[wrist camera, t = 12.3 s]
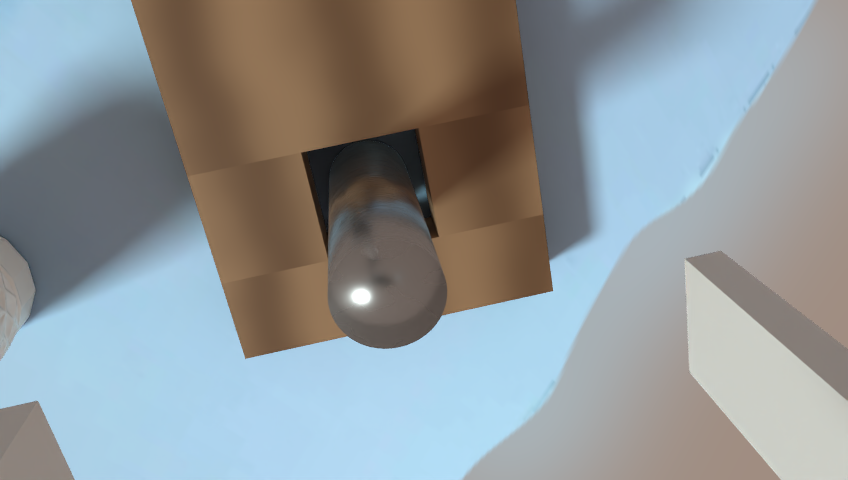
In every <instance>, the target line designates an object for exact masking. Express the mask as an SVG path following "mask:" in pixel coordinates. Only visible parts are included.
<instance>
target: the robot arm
mask: <svg viewBox="0 0 848 480" xmlns="http://www.w3.org/2000/svg"><path fill="white" fill-rule="evenodd" d="M685 278H686V279H685V280H686V304H687V328H688V352H689V372H690V373H691V374H692V376H693V377H694V378H695V379H696V380H697V382H699V384H700V385H701V386H702V387H703V389H704V390H705V391H706V392H707V393H708V394H709V395H710V397H711V398H712V399H713V400H714V401H715V403H716V404H717V405H718V406H719V407H720V409H721V410H722V411H723V412H724V413H725V414H726V416H727V417H728V418H729V419H730V420H731V421H732V423H733V424H734V425H735V426H736V427H737V428H738V430H739V431H740V432H741V433H742V434H743V436H744V437H745V438H746V439H747V440H748V441H749V443H750V444H751V445H752V446H753V447H754V448H755V450H756V451H757V452H758V453H759V454H760V455H761V457H762V458H763V459H764V460H765V461H766V462H767V464H768V465H769V466H770V467H771V468H772V470H773V471H774V472H775V473H776V474H777V475H778V477H779V478H780V479H781V480H848V349H847V348H846V347H844V346H843V345H842V344H841V343H839V342H838V341H837V340H835V339H834V338H833V337H832V336H830V335H829V334H828V333H826V332H825V331H824V330H823V329H821V328H820V327H819V326H817V325H816V324H815V323H814V322H812V321H811V320H809V319H808V318H807V317H806V316H804V315H803V314H802V313H801V312H799V311H798V310H797V309H795V308H794V307H793V306H791V305H790V304H789V303H788V302H786V301H785V300H784V299H782V298H781V297H780V296H779V295H777V294H776V293H775V292H773V291H772V290H771V289H769V288H768V287H767V286H765V285H764V284H763V283H762V282H760V281H759V280H758V279H757V278H755V277H754V276H753V275H751V274H750V273H749V272H748V271H746V270H745V269H744V268H742V267H741V266H740V265H738V264H737V263H736V262H735V261H733V260H732V259H731V258H729V257H728V256H727V255H725V254H724V253H723V252H722V251H718V252H713V253H709V254H704V255H700V256H695V257H691V258H686V259H685ZM0 480H74V477H73V475H72V473H71V471H70V469H69V467H68V464H67V462H66V460H65V458H64V456H63V454H62V452H61V449H60V447H59V445H58V443H57V441H56V439H55V437H54V434H53V432H52V430H51V428H50V426H49V424H48V421H47V419H46V417H45V415H44V413H43V411H42V409H41V406H40V404H39V402H38V401H34V402H30V403H25V404H21V405H16V406H12V407H7V408H2V409H0Z"/></svg>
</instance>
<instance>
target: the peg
mask: <svg viewBox="0 0 848 480" xmlns="http://www.w3.org/2000/svg"><path fill="white" fill-rule="evenodd" d="M446 301H447V283H446V279H445V276H444V273H443V270H442V267H441V264H440V261H439V259H438V256H437V253H436V250H435V247H434V245H433V242H432V239H431V236H430V233H429V230H428V228H427V225H426V222H425V219H424V216H423V214H422V211H421V208H420V205H419V202H418V199H417V197H416V194H415V191H414V188H413V185H412V183H411V180H410V177H409V174H408V171H407V168H406V166H405V163H404V161H403V159H402V158H401V156H400V155H399V154H398V153H397V152H396V151H395V150H394V149H393V148H392V147H390V146H388V145H387V144H384V143H382V142H378V141H373V140H364V141H359V142H355V143H353V144H350V145H349V146H347V147H345V148H344V149H343V150H342V151H341V152H340V153H339V154H338V155H337V156H336V158H335V159H334V161H333V163H332V166H331V169H330V174H329V229H328V305H329V310H330V313H331V315H332V317H333V319H334V321H335V323H336V324H337V326H338V327H339V328H340V329H341V330H342V332H343V333H345V334H346V335H347V336H348V337H349V338H351V339H353V340H354V341H356V342H358V343H360V344H363V345H366V346H369V347H374V348H383V349H387V348H397V347H401V346H405V345H408V344H410V343H413V342H415V341H417V340H419V339H420V338H422V337H423V336H425V335H426V334H427V333H428V332H429V331H430V330H431V329H432V328H433V327H434V326H435V325H436V324H437V322H438V321H439V319H440V318H441V316H442V314H443V311H444V309H445V305H446Z"/></svg>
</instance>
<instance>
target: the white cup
mask: <svg viewBox="0 0 848 480" xmlns="http://www.w3.org/2000/svg"><path fill="white" fill-rule="evenodd" d="M35 291H36V289H35V286H34V282H33V279H32V276H31V272H30V269H29V266H28V263H27V262H26V260H25V259H24V258H23V257H22V256H21V255H20V254H19V253H18V252H17V250H16V249H15V248H14V247H13V246H12V245H11V244H10V243H9V242H8V240H6V239H5V238H3V237H1V236H0V361H1V359H2V358H3V356H4V355H5V353H6V352H7V350H8V348H9V347H10V345H11V343H12V341H13V339H14V337H15V335H16V334H17V332H18V331H19V330H20V328H21V327H22V326H23V324H24V323H25V322H26V320H27V319H28V318H29V316H30V312H31V308H32V304H33V300H34V296H35Z"/></svg>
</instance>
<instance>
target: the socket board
mask: <svg viewBox="0 0 848 480" xmlns="http://www.w3.org/2000/svg"><path fill="white" fill-rule="evenodd" d="M131 2H132V5H133V8H134V11H135V14H136V17H137V20H138V24H139V27H140V30H141V33H142V36H143V39H144V42H145V45H146V49H147V52H148V55H149V58H150V61H151V64H152V67H153V71H154V74H155V77H156V80H157V83H158V86H159V89H160V92H161V96H162V99H163V102H164V105H165V108H166V111H167V114H168V117H169V121H170V124H171V127H172V130H173V133H174V136H175V139H176V143H177V146H178V149H179V152H180V155H181V158H182V161H183V164H184V168H185V171H186V174H187V177H188V180H189V183H190V186H191V190H192V193H193V196H194V199H195V202H196V205H197V208H198V211H199V215H200V218H201V221H202V224H203V227H204V230H205V233H206V236H207V240H208V243H209V246H210V249H211V252H212V255H213V258H214V262H215V265H216V268H217V271H218V274H219V277H220V280H221V283H222V287H223V290H224V293H225V296H226V299H227V302H228V305H229V308H230V312H231V315H232V318H233V321H234V324H235V327H236V330H237V334H238V337H239V340H240V343H241V346H242V349H243V352H244V355H245V359H246V358H251V357H255V356H260V355H264V354H269V353H273V352H278V351H282V350H287V349H291V348H296V347H300V346H305V345H310V344H314V343H319V342H323V341H328V340H332V339H337V338H341V337H346V336H347V335H346V334H345V333H343V332H342V330H341V329H340V328H339V327H338V326H337V324H336V323H335V321H334V319H333V317H332V315H331V313H330V310H329V305H328V234H327V230H326V226H325V222H324V218H323V214H322V210H321V206H320V202H319V198H318V194H317V190H316V186H315V182H314V178H313V174H312V170H311V166H310V162H309V158H308V154H307V151H311V150H316V149H321V148H325V147H330V146H335V145H340V144H345V143H349V142H354V141H359V140H364V139H369V138H373V137H378V136H383V135H388V134H393V133H397V132H402V131H407V130H412V129H415V134H416V140H417V145H418V150H419V155H420V161H421V166H422V171H423V176H424V181H425V187H426V192H427V197H428V202H429V208H430V213H431V217H428V218H424V219H425V222H426V225H427V228H428V230H429V233H430V236H431V239H432V242H433V245H434V247H435V250H436V253H437V256H438V259H439V261H440V264H441V267H442V270H443V273H444V276H445V279H446V283H447V301H446V305H445V309H444V311H443V314H442V315H446V314H450V313H455V312H459V311H464V310H469V309H473V308H478V307H482V306H487V305H491V304H496V303H500V302H505V301H509V300H514V299H519V298H523V297H528V296H532V295H537V294H541V293H546V292H550V291H553V287H552V279H551V271H550V264H549V256H548V248H547V240H546V232H545V225H544V217H543V209H542V201H541V194H540V186H539V178H538V170H537V163H536V155H535V147H534V139H533V132H532V124H531V116H530V108H529V101H528V93H527V85H526V77H525V70H524V62H523V54H522V46H521V39H520V31H519V23H518V15H517V8H516V0H131Z"/></svg>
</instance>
